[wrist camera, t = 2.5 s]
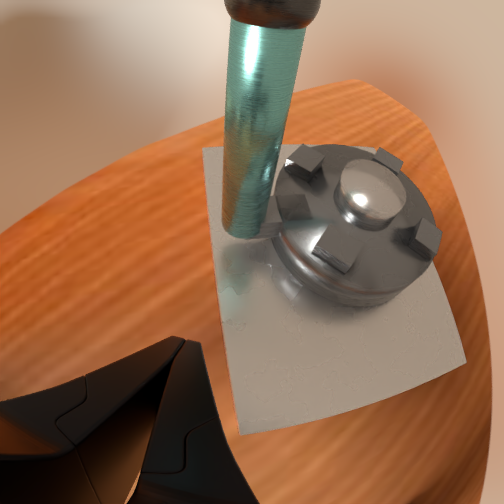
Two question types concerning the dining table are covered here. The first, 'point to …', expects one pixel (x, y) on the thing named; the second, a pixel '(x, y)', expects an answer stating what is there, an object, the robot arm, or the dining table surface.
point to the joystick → (312, 175)
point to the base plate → (316, 331)
